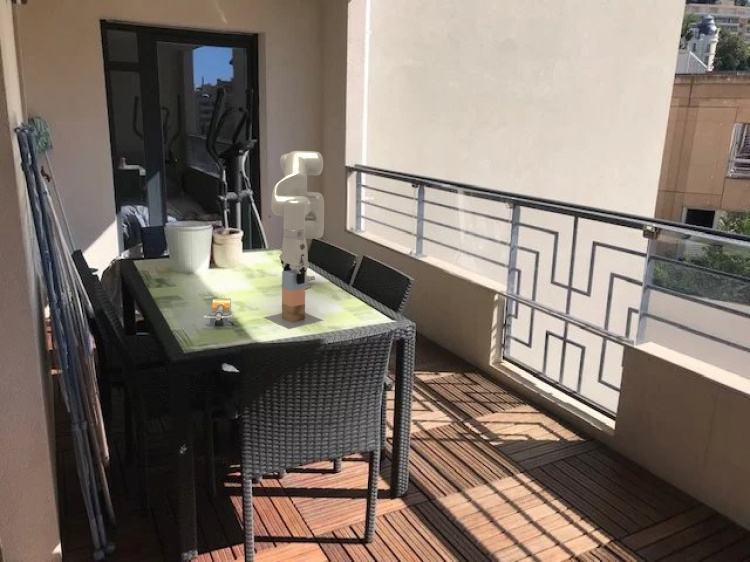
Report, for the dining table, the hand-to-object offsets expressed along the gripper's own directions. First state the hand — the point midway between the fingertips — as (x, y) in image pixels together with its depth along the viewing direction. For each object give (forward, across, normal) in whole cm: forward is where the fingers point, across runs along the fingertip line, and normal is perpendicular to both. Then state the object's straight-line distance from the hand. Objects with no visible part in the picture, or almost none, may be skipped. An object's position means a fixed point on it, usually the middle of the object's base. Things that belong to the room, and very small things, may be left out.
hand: (293, 280), depth 227 cm
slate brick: (+3, 0, 0) cm, 3 cm away
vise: (+16, +17, +21) cm, 31 cm away
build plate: (+16, 0, 0) cm, 16 cm away
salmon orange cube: (+9, 0, 0) cm, 9 cm away
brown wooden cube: (+15, 0, 0) cm, 15 cm away
